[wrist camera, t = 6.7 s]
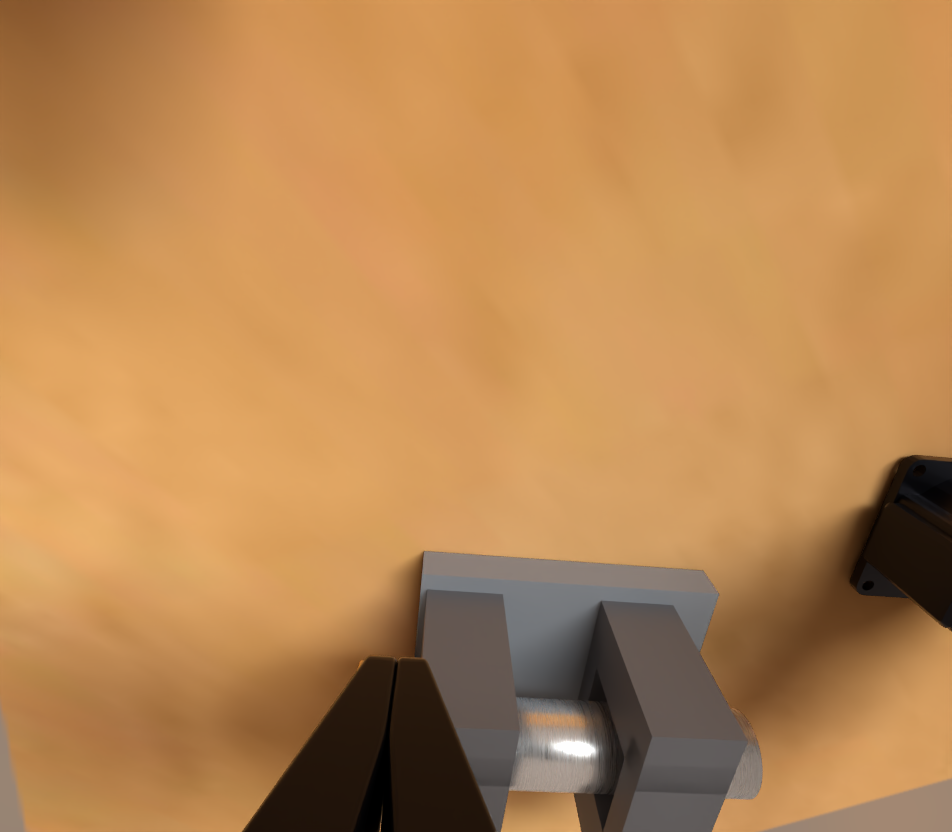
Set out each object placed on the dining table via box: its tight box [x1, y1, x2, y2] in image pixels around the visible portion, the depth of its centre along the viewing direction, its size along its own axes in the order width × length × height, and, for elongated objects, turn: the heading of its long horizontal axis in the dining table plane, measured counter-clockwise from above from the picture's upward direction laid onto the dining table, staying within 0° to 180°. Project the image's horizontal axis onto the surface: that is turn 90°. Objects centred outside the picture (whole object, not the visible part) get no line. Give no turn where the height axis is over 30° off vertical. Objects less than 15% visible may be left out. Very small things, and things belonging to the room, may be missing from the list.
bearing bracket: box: [415, 551, 748, 832], centre depth 21 cm, size 12×10×8 cm
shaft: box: [357, 660, 762, 820], centre depth 20 cm, size 15×5×5 cm, turn 84°
